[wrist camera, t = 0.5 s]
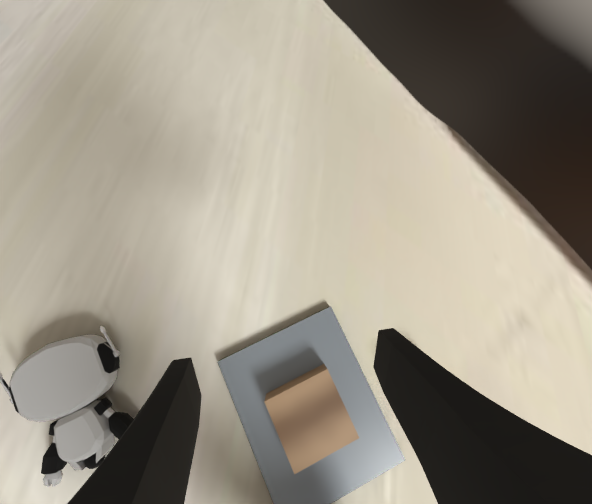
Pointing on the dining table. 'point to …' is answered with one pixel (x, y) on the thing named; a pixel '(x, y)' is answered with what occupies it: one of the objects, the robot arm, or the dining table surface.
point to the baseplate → (352, 389)
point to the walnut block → (310, 418)
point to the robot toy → (70, 400)
